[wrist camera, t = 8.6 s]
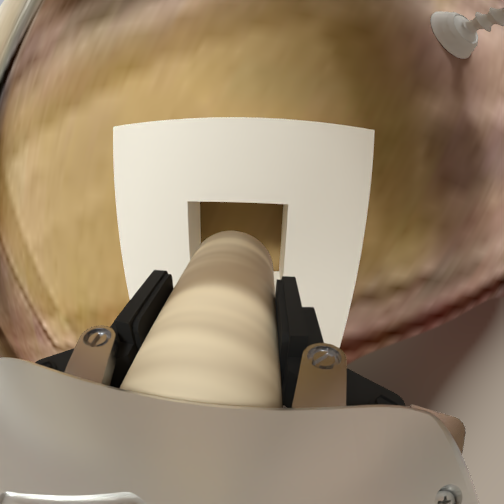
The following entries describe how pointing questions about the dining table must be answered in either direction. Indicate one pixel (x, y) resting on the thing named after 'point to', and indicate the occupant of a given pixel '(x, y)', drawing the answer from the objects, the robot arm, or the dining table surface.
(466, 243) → the dining table surface
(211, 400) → the peg
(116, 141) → the socket
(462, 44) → the chalice
